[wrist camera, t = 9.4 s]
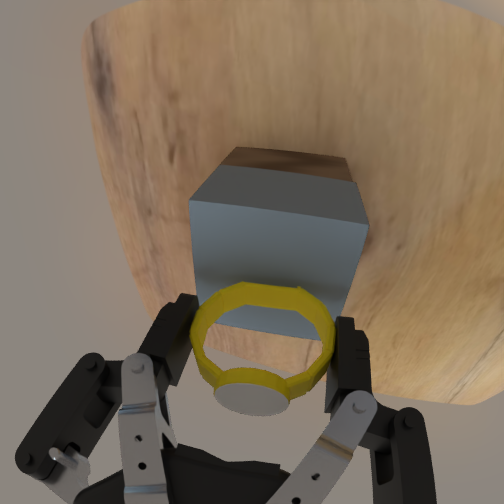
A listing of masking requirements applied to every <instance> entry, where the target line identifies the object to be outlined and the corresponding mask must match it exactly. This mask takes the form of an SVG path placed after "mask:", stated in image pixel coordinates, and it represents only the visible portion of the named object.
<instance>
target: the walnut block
mask: <svg viewBox="0 0 504 504" xmlns="http://www.w3.org/2000/svg"><path fill="white" fill-rule="evenodd" d="M220 165H230V166H240V167H250V168H260V169H268V170H277V171H284V172H292V173H299V174H306V175H313V176H320V177H326V178H332V179H338V180H344V181H349V182H353V181H352V178H351V175H350V172H349V169H348V166H347V163H346V160H345V158H341V157H334V156H327V155H319V154H311V153H302V152H293V151H283V150H272V149H259V148H245V147H236V148H235V149H234V150H233V151H232V152H231V153H230V154H229V155H228V156H227V157H226V158H225V159H224V161H223V162H222V163H221V164H220ZM217 168H218V167H217Z"/></svg>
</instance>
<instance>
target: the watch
mask: <svg viewBox="0 0 504 504" xmlns="http://www.w3.org/2000/svg"><path fill="white" fill-rule="evenodd" d="M243 305H254V306H261V307H269V308H277V309H285V310H293V311H297V312H299V313H300V314H301V315H302V316H304V317H305V318H306V319H308V320H309V321H310V322H311V323H313V324H314V326H315V328H316V330H317V332H318V335H319V337H320V339H321V341H322V343H323V348H322V354H321V355H320V356H319V357H318V359H317V360H316V361H315V362H314V363H313V364H312V365H311V366H310V368H309V369H308V370H307V371H306V372H303V373H300V374H298V375H295V376H292V377H289V378H287V379H283V378H281V377H280V376H278V375H276V374H274V373H271V372H269V371H266V370H260V369H256V368H234V369H229V370H226V371H222V370H221V369H220V368H219V367H218V366H216V365H215V364H214V363H213V362H212V361H210V360H209V359H208V358H207V357H206V356H205V353H204V350H203V344H204V341H205V337H206V334H207V330H208V328H209V327H210V326H211V325H212V324H213V323H214V322H215V321H216V320H217V319H218V318H219V317H221V316H222V315H223V314H224V313H225V312H228V311H230V310H233V309H236V308H238V307H241V306H243ZM189 332H190V335H189V336H190V340H191V344H192V348H193V351H194V355H195V358H196V362H197V365H198V368H199V371H200V374H201V375H202V377H203V379H205V380H206V381H207V382H208V383H209V384H210V385H211V386H212V387H214V396H215V398H216V400H217V401H218V402H219V403H220V404H221V405H222V406H224V407H226V408H228V409H230V410H232V411H235V412H238V413H241V414H246V415H251V416H271V415H275V414H279V413H281V412H283V411H284V410H286V409H287V407H288V406H289V404H290V400H292V399H295V398H297V397H300V396H302V395H305V394H306V392H308V391H310V390H311V389H312V388H313V387H314V386H315V385H316V383H317V382H318V381H319V380H320V379H321V378H322V376H323V375H324V374H325V373H326V372H327V369H328V367H329V364H330V361H331V359H332V356H333V353H334V346H335V337H336V328H335V323H334V321H333V319H332V317H331V315H330V313H329V311H328V310H327V308H326V306H325V305H324V304H323V302H321V301H320V300H319V299H317V298H316V297H314V296H313V295H312V294H310V293H309V292H307V291H306V290H305V289H303V288H301V287H299V286H297V288H292V287H284V286H274V285H266V284H258V283H250V282H243V281H242V282H240V283H237V284H234V285H232V286H229V287H226V288H223V289H220V290H219V291H217V292H215V293H214V294H213V295H212V296H211V297H210V298H209V299H207V300H206V301H205V302H204V303H203V304H202V305H201V306H200V307H199V309H198V310H196V313H195V316H194V319H193V322H192V325H191V328H190V331H189Z"/></svg>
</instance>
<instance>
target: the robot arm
mask: <svg viewBox="0 0 504 504" xmlns="http://www.w3.org/2000/svg"><path fill="white" fill-rule="evenodd" d="M199 307H200V306H199V300H198V296H196V295H190V294H185V293H181V294H180V295H179V297H178V299H177V301H176V302H175V303H171V302H169V303H168V304H166V305H165V306H164V307H163V308H162V309H161V310H160V312H159V313H158V315H157V317H156V319H155V321H154V322H153V324H152V326H151V328H150V330H149V332H148V333H147V335H146V337H145V339H144V341H143V343H142V345H141V346H140V348H139V350H138V352H137V353H135V354H132V355H130V356H128V357H127V358H126V359H125V360H121V361H105V360H104V358H103V357H102V356H101V355H100V354H98V353H88V354H86V355H84V356H83V357H82V358H81V359H80V360H79V362H78V363H77V364H76V366H75V367H74V368H73V370H72V371H71V372H70V373H69V375H68V376H67V378H66V379H65V380H64V382H63V383H62V384H61V386H60V387H59V388H58V390H57V391H56V392H55V394H54V395H53V397H52V398H51V399H50V401H49V402H48V404H47V405H46V407H45V408H44V409H43V411H42V412H41V414H40V415H39V417H38V418H37V420H36V421H35V423H34V424H33V426H32V427H31V429H30V430H29V432H28V433H27V435H26V436H25V438H24V439H23V441H22V442H21V444H20V445H19V447H18V449H17V451H16V454H15V461H16V464H17V466H18V468H19V469H20V470H21V471H22V472H23V473H25V474H28V475H29V476H31V477H33V478H34V479H36V480H38V481H40V482H43V483H44V484H45V485H46V486H47V487H48V488H50V489H51V490H52V491H53V492H54V493H56V494H57V495H58V496H59V497H60V498H62V499H63V500H64V501H65V502H67V503H68V504H321V503H322V501H323V500H324V499H325V498H326V496H327V495H328V494H329V492H330V491H331V489H332V488H333V487H334V485H335V484H336V482H337V481H338V479H339V478H340V476H341V475H342V473H343V472H344V470H345V469H346V467H347V466H348V464H349V462H350V461H351V459H352V456H353V452H354V450H355V449H356V447H357V445H358V446H362V447H364V448H367V449H370V458H371V470H372V483H373V484H372V485H373V504H437V501H436V492H435V482H434V474H433V467H432V460H431V454H430V448H429V442H428V437H427V432H426V427H425V422H424V418H423V416H422V414H421V413H420V412H419V411H418V410H417V409H415V408H412V407H406V408H403V409H401V410H400V411H397V410H394V409H391V408H388V407H385V406H383V405H381V404H380V403H379V402H377V401H376V399H375V398H374V396H373V394H372V387H371V368H370V353H369V341H368V338H367V337H366V335H365V333H364V331H362V330H355V325H354V318H352V317H342V316H337V317H336V320H335V328H336V337H335V346H334V353H333V356H332V359H331V361H330V364H329V367H328V369H327V381H326V397H325V411H324V412H325V413H331V417H330V422H329V424H328V425H327V427H326V429H325V430H324V431H323V433H322V434H321V436H320V437H319V438H318V440H317V441H316V442H315V444H314V445H313V447H312V448H311V449H310V451H309V452H308V453H307V455H306V456H305V457H304V459H303V460H302V461H301V463H300V464H299V465H298V466H297V468H296V469H295V470H294V471H293V473H292V474H290V473H288V472H286V471H284V470H281V469H280V464H273V463H265V462H259V461H243V462H227V461H224V460H221V459H219V458H217V457H215V456H213V455H211V454H209V453H207V452H205V451H204V450H201V449H197V448H193V447H190V446H186V445H183V444H179V443H178V445H177V442H176V438H175V435H174V432H173V429H172V424H171V418H170V412H169V405H168V398H167V393H166V391H167V389H168V386H169V385H173V386H177V384H178V382H179V379H180V377H181V374H182V372H183V369H184V367H185V364H186V362H187V359H188V357H189V354H190V352H191V349H192V344H191V340H190V336H189V335H190V332H189V331H190V328H191V325H192V322H193V319H194V316H195V313H196V310H198V309H199ZM121 404H122V409H120V410H119V412H118V422H119V437H120V448H121V457H122V466H123V469H122V470H120V471H119V472H116V473H114V474H113V475H111V476H109V477H107V478H105V479H103V480H101V481H99V482H97V483H95V484H93V485H91V486H89V485H88V481H87V480H88V479H87V478H88V475H89V474H90V464H89V461H88V457H89V455H90V454H91V452H92V450H93V449H94V447H95V445H96V444H97V442H98V440H99V439H100V437H101V435H102V434H103V432H104V431H105V429H106V428H107V426H108V424H109V423H110V421H111V419H112V418H113V416H114V415H115V413H116V411H117V410H118V408H119V407H120V405H121Z"/></svg>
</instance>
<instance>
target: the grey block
mask: <svg viewBox="0 0 504 504" xmlns="http://www.w3.org/2000/svg"><path fill="white" fill-rule="evenodd" d="M189 213H190V227H191V240H192V252H193V263H194V273H195V283H196V293H197V296H198V300H199V306H201V305H202V304H203V303H204V302H205V301H206V300H207V299H209V298H210V297H211V296H212V295H213V294H214V293H215V292H217V291H219V290H220V289H223V288H226V287H229V286H232V285H234V284H237V283H240V282H242V281H243V282H250V283H258V284H266V285H274V286H284V287H292V288H297V286H299V287H301V288H303V289H305V290H306V291H307V292H309V293H310V294H312V295H313V296H314V297H316V298H317V299H319V300H320V301H321V302H323V304H324V305H325V306H326V308H327V310H328V311H329V313H330V315H331V317H332V319H333V321H334V323H335V320H336V317H337V316H340V315H341V312H342V309H343V307H344V304H345V301H346V298H347V295H348V292H349V290H350V287H351V284H352V281H353V278H354V275H355V272H356V269H357V265H358V262H359V259H360V256H361V253H362V249H363V246H364V243H365V239H366V236H367V232H368V229H369V222H368V219H367V215H366V212H365V209H364V206H363V203H362V199H361V196H360V193H359V190H358V187H357V184H356V183H355V182H349V181H344V180H338V179H332V178H326V177H320V176H313V175H306V174H299V173H292V172H284V171H277V170H268V169H260V168H250V167H240V166H230V165H219V166H218V168H217V169H216V170H215V171H214V172H213V173H212V174H211V175H210V176H209V177H208V179H207V180H206V181H205V182H204V183H203V184H202V185H201V186H200V188H199V189H198V190H197V191H196V192H195V193H194V194H193V196H192V197H191V198H190V199H189ZM214 323H217V324H222V325H227V326H232V327H238V328H243V329H249V330H254V331H260V332H266V333H272V334H278V335H285V336H291V337H298V338H305V339H312V340H320V341H321V339H320V337H319V335H318V332H317V330H316V328H315V326H314V324H313V323H311V322H310V321H309V320H308V319H306V318H305V317H304V316H302V315H301V314H300V313H299V312H297V311H293V310H285V309H277V308H269V307H261V306H254V305H243V306H241V307H238V308H236V309H233V310H230V311H228V312H225V313H224V314H223V315H222V316H221V317H219V318H218V319H217V320H216V321H215V322H214Z"/></svg>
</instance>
